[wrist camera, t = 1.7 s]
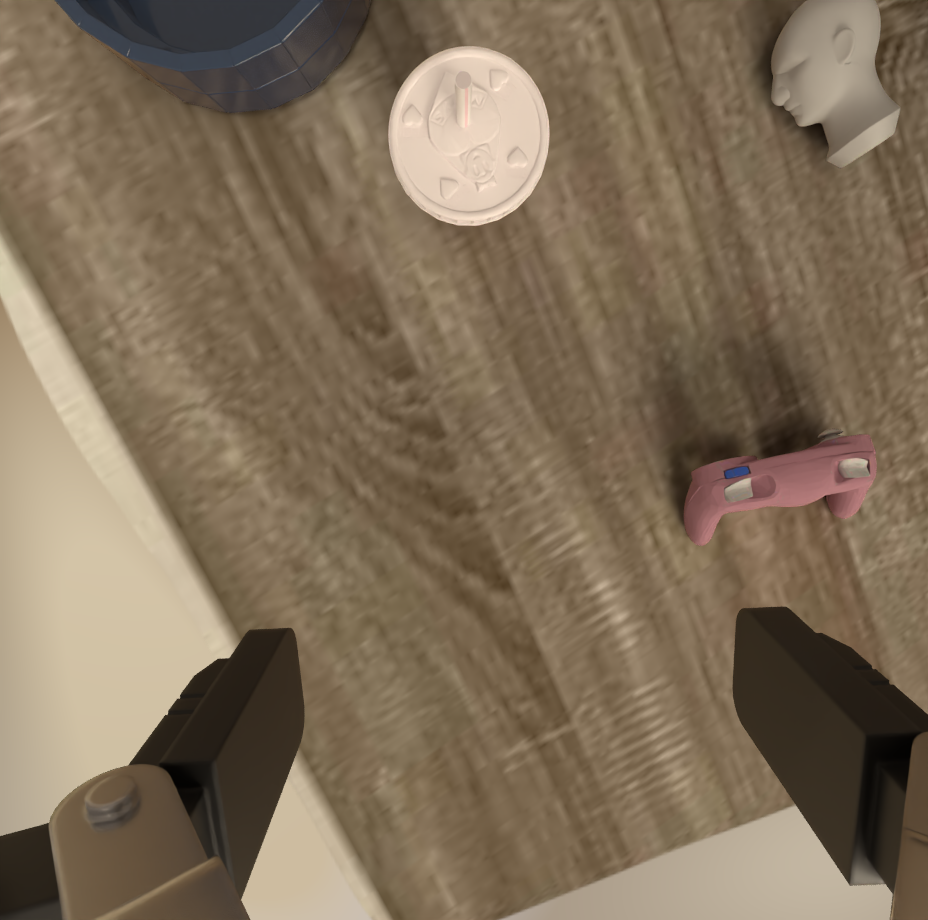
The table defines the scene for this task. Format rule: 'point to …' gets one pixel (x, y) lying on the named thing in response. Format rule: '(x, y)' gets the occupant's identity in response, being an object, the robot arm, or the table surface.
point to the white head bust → (834, 75)
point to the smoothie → (468, 135)
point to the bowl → (226, 45)
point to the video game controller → (782, 482)
